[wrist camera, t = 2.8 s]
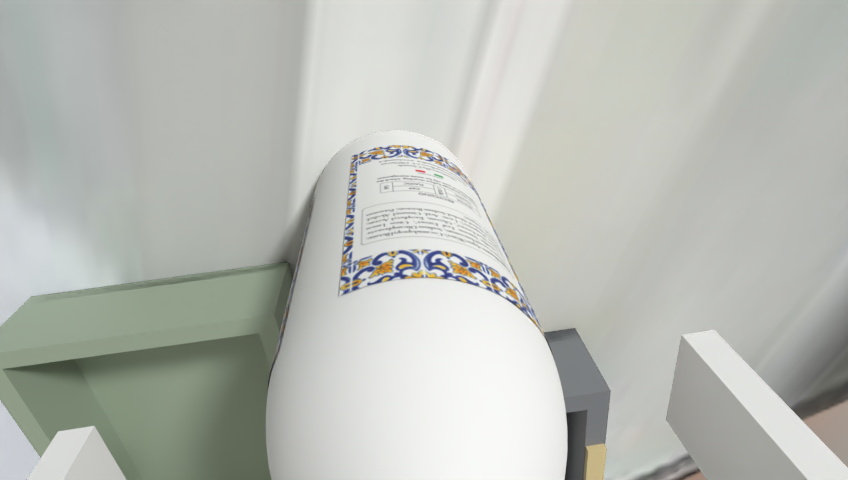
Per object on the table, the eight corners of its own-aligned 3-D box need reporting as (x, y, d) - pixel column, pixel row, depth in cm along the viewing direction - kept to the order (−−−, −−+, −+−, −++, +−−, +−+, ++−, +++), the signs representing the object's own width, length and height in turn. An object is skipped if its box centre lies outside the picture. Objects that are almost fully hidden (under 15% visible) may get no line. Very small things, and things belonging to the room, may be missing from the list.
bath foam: (393, 295, 25) (449, 1091, 7) (281, 203, 22) (-68, 1142, 4) (502, 203, 23) (933, 969, 5) (396, 90, 20) (576, 921, 3)
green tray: (288, 261, 23) (273, 314, 20) (352, 501, 32) (350, 567, 28) (31, 296, 23) (-30, 356, 19) (165, 529, 31) (140, 600, 28)
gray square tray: (574, 328, 27) (613, 395, 23) (566, 485, 33) (595, 561, 29) (329, 363, 26) (321, 438, 22) (368, 516, 33) (367, 597, 28)
